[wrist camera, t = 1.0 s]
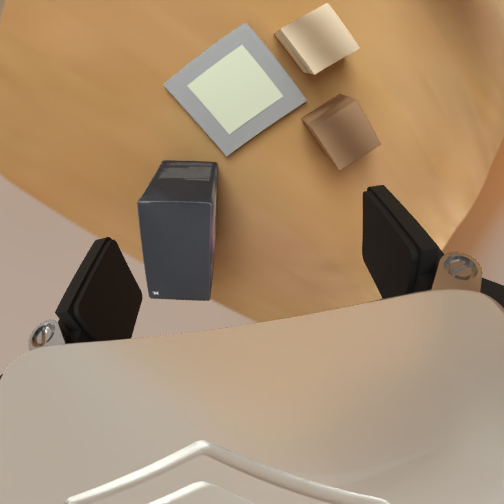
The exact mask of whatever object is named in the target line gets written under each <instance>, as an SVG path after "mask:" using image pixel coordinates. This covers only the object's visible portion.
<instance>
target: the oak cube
mask: <svg viewBox="0 0 504 504" xmlns="http://www.w3.org/2000/svg"><path fill="white" fill-rule="evenodd" d="M274 35H275V37H276V38H277V39H278V40H279V41H280V43H281V44H282V45H283V47H284V48H285V49H286V50H287V52H288V53H289V54H290V56H291V57H292V58H293V59H294V61H295V62H296V63H297V65H298V66H299V67H300V69H301V70H302V72H304V73H309V74H314V75H315V74H317V73H318V72H320V71H322V70H323V69H325V68H327V67H328V66H330V65H332V64H333V63H335V62H337V61H338V60H340V59H342V58H344V57H345V56H347V55H349V54H351V53H353V52H354V51H356V50H358V49H360V48H359V46H358V45H357V43H356V42H355V40H354V39H353V37H352V36H351V34H350V33H349V31H348V30H347V28H346V27H345V25H344V24H343V23H342V21H341V20H340V18H339V17H338V16H337V14H336V13H335V12H334V10H333V9H332V8H331V6H330V5H329V4H328V3H326V4H324V5H322V6H321V7H319V8H317V9H315V10H313V11H311V12H309V13H307V14H306V15H304V16H302V17H300V18H298V19H297V20H295V21H293V22H291V23H290V24H288V25H286V26H285V27H283V28H281V29H280V30H278V31H277V32H276V33H274Z"/></svg>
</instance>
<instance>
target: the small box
mask: <svg viewBox="0 0 504 504" xmlns="http://www.w3.org/2000/svg"><path fill="white" fill-rule="evenodd" d="M137 205H138V217H139V227H140V236H141V244H142V252H143V260H144V266H145V274H146V281H147V287H148V292H149V297H150V298H153V299H176V300H203V301H205V300H206V301H209V300H210V295H211V286H212V276H213V266H214V252H215V238H216V220H217V163H216V162H202V161H162V162H161V165H160V166H159V168H158V170H157V172H156V173H155V175H154V177H153V178H152V180H151V182H150V183H149V185H148V187H147V188H146V190H145V192H144V193H143V195H142V196H141V198H140V199H139V200H138V202H137Z"/></svg>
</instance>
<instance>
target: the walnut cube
mask: <svg viewBox="0 0 504 504" xmlns="http://www.w3.org/2000/svg"><path fill="white" fill-rule="evenodd" d="M301 119H302V120H303V122H304V123H305V124H306V126H307V127H308V129H309V130H310V132H311V133H312V135H313V136H314V138H315V139H316V141H317V142H318V143H319V145H320V146H321V148H322V150H323V151H324V153H325V154H326V155H327V157H328V158H329V159H330V160H331V161H332V162H333V164H334V165H335V166H336V167H337V168H338V169H339V171H340V170H342V169H343V168H345V167H346V166H348V165H349V164H351V163H352V162H354V161H356V160H357V159H359V158H360V157H362V156H363V155H365V154H367V153H368V152H370V151H371V150H373V149H374V148H376V147H378V146H379V145H381V143H380V141H379V139H378V137H377V135H376V133H375V131H374V129H373V128H372V126H371V124H370V122H369V120H368V119H367V117H366V115H365V113H364V112H363V110H362V108H361V106H360V105H359V103H358V101H357V100H355V99H352V98H350V97H347V96H344V95H342V94H339V95H337V96H336V97H334V98H333V99H331V100H329V101H328V102H326V103H325V104H323V105H321V106H320V107H318V108H317V109H315V110H314V111H312V112H310V113H309V114H307V115H306V116H304V117H303V118H301Z"/></svg>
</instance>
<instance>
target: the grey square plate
mask: <svg viewBox="0 0 504 504" xmlns="http://www.w3.org/2000/svg"><path fill="white" fill-rule="evenodd" d="M163 85H164V87H165V88H166V89H167V90H168V91H169V92H170V93H171V94H172V95H173V96H174V98H175V99H176V100H177V101H178V102H179V103H180V104H181V105H182V106H183V107H184V109H185V110H186V111H187V112H188V113H189V114H190V115H191V116H192V118H193V119H194V120H195V121H196V122H197V123H198V124H199V125H200V127H201V128H202V129H203V130H204V131H205V132H206V133H207V135H208V136H209V137H210V138H211V139H212V140H213V141H214V143H215V144H216V145H217V146H218V147H219V148H220V150H221V151H222V152H223V153H224V154H225V155H226V157H227V156H228V155H229V154H231V153H232V152H234V151H235V150H236V149H238V148H239V147H240V146H242V145H243V144H244V143H246V142H247V141H249V140H250V139H251V138H253V137H254V136H256V135H257V134H258V133H260V132H261V131H263V130H264V129H266V128H267V127H268V126H270V125H271V124H273V123H274V122H276V121H277V120H279V119H280V118H282V117H283V116H285V115H286V114H288V113H289V112H291V111H292V110H294V109H295V108H297V107H298V106H300V105H301V104H303V103H304V102H306V101H307V100H306V98H305V97H304V95H303V94H302V93H301V91H300V90H299V88H298V87H297V86H296V84H295V83H294V82H293V80H292V79H291V78H290V76H289V75H288V74H287V72H286V71H285V70H284V68H283V67H282V66H281V64H280V63H279V62H278V61H277V59H276V58H275V57H274V55H273V54H272V53H271V52H270V50H269V49H268V48H267V47H266V46H265V44H264V43H263V42H262V41H261V40H260V38H259V37H258V36H257V35H256V34H255V32H254V31H253V30H252V29H251V28H250V27H249V25H248V24H247V23H246V22H245V23H244V24H242V25H241V26H239V27H238V28H236V29H235V30H233V31H232V32H230V33H229V34H227V35H226V36H225V37H223V38H222V39H220V40H219V41H218V42H216V43H215V44H213V45H212V46H211V47H209V48H208V49H207V50H205V51H204V52H203V53H201V54H200V55H199V56H197V57H196V58H195V59H194V60H192V61H191V62H190V63H189V64H187V65H186V66H185V67H184V68H182V69H181V70H180V71H179V72H177V73H176V74H175V75H174V76H173V77H172V78H170V79H169V80H168V81H167V82H166V83H165V84H163Z"/></svg>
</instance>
